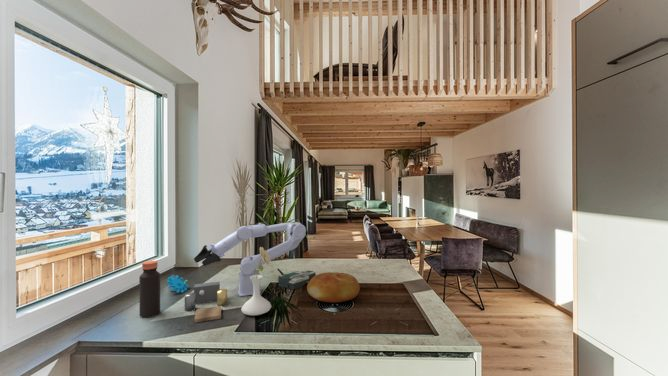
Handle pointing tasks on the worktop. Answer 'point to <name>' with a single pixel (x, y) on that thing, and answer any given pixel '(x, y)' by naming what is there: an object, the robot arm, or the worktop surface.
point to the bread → (333, 287)
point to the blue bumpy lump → (177, 284)
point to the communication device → (295, 279)
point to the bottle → (149, 290)
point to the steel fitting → (190, 301)
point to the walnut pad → (207, 314)
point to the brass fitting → (221, 297)
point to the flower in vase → (257, 291)
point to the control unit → (206, 292)
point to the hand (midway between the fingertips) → (199, 262)
